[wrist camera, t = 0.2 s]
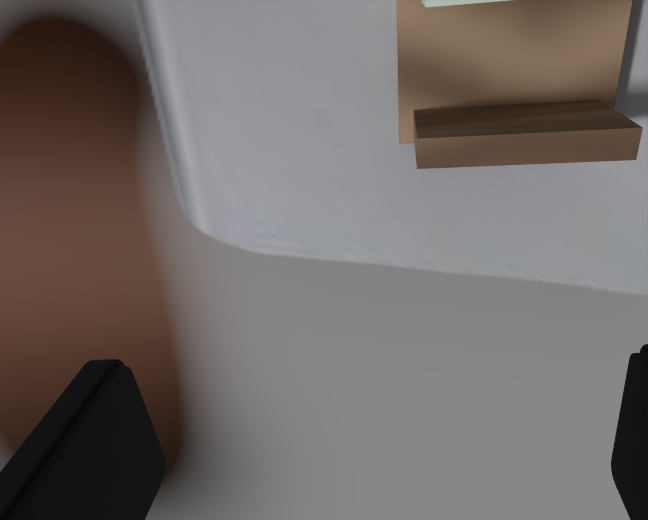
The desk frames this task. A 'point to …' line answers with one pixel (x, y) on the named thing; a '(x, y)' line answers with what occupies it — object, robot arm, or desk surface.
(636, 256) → the desk surface
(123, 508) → the robot arm
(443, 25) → the brown wooden stand
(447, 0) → the pale green open box
